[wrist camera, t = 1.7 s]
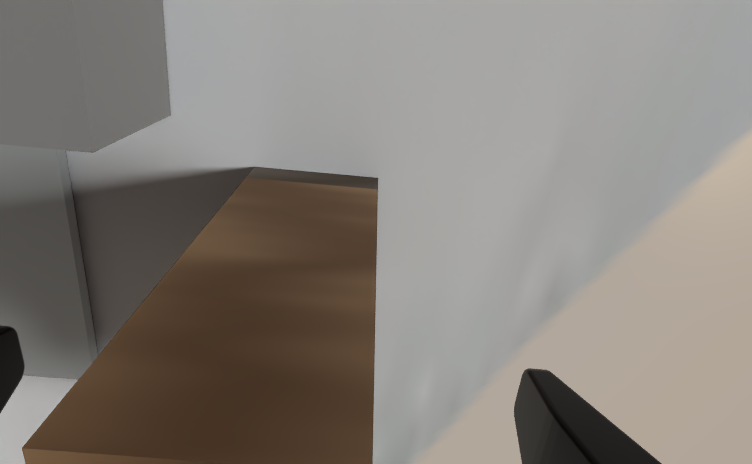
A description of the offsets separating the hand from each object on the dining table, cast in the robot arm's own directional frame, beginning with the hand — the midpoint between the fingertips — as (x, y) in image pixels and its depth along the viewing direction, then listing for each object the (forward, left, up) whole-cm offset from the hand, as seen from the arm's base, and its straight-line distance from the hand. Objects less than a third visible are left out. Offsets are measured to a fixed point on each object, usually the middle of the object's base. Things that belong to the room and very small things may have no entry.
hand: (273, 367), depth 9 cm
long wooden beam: (0, 0, -6) cm, 7 cm away
